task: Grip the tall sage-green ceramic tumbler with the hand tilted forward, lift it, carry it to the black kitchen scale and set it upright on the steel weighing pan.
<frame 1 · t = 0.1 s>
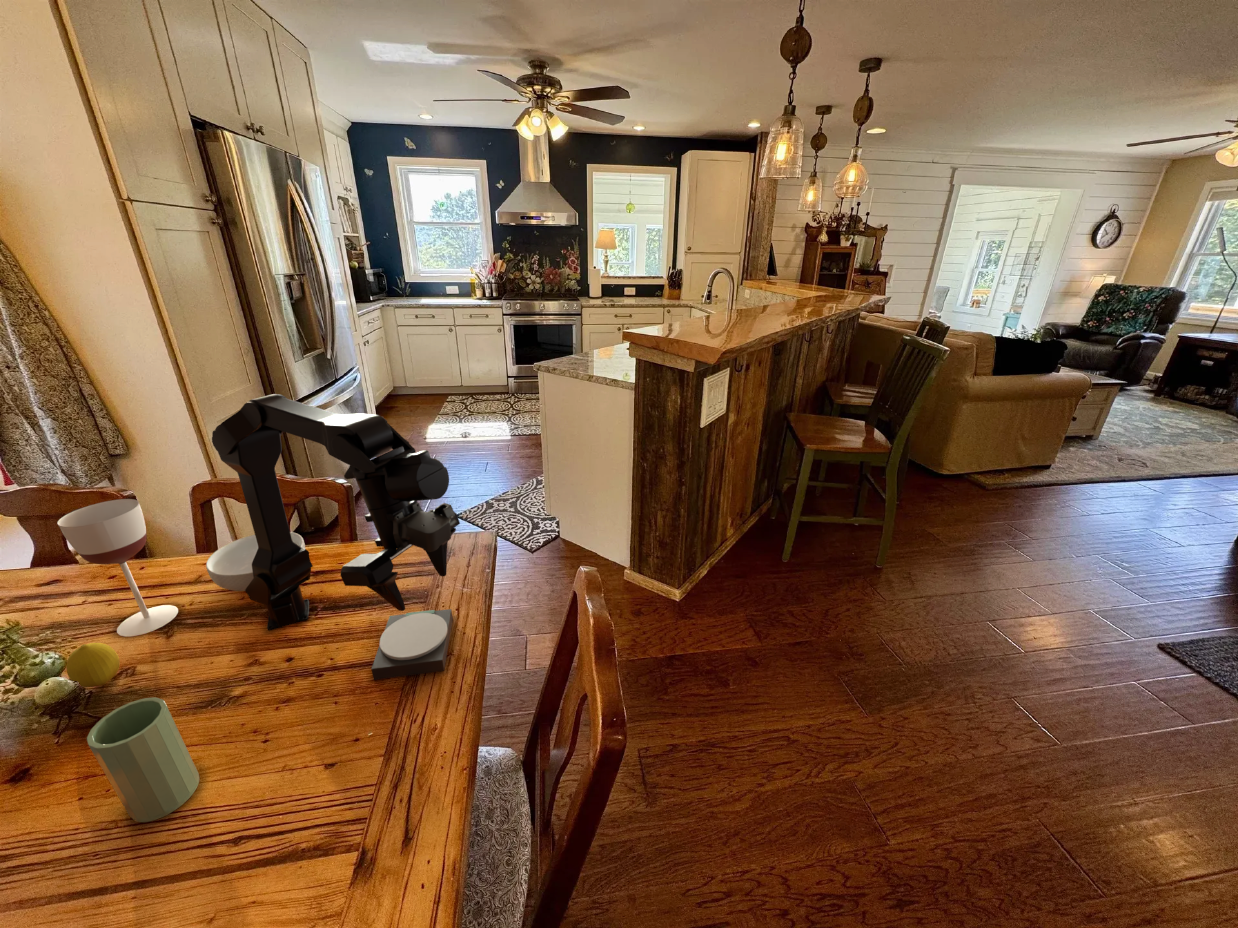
hand: (423, 592, 77), 15 cm above the table, tool pointing down, fingers open, 9 cm apart
wineglass: (148, 620, 92), on the table
lemon: (104, 684, 79), on the table
scale: (416, 647, 87), on the table
cereal bowl: (265, 579, 105), on the table
tumbler: (165, 794, 63), on the table
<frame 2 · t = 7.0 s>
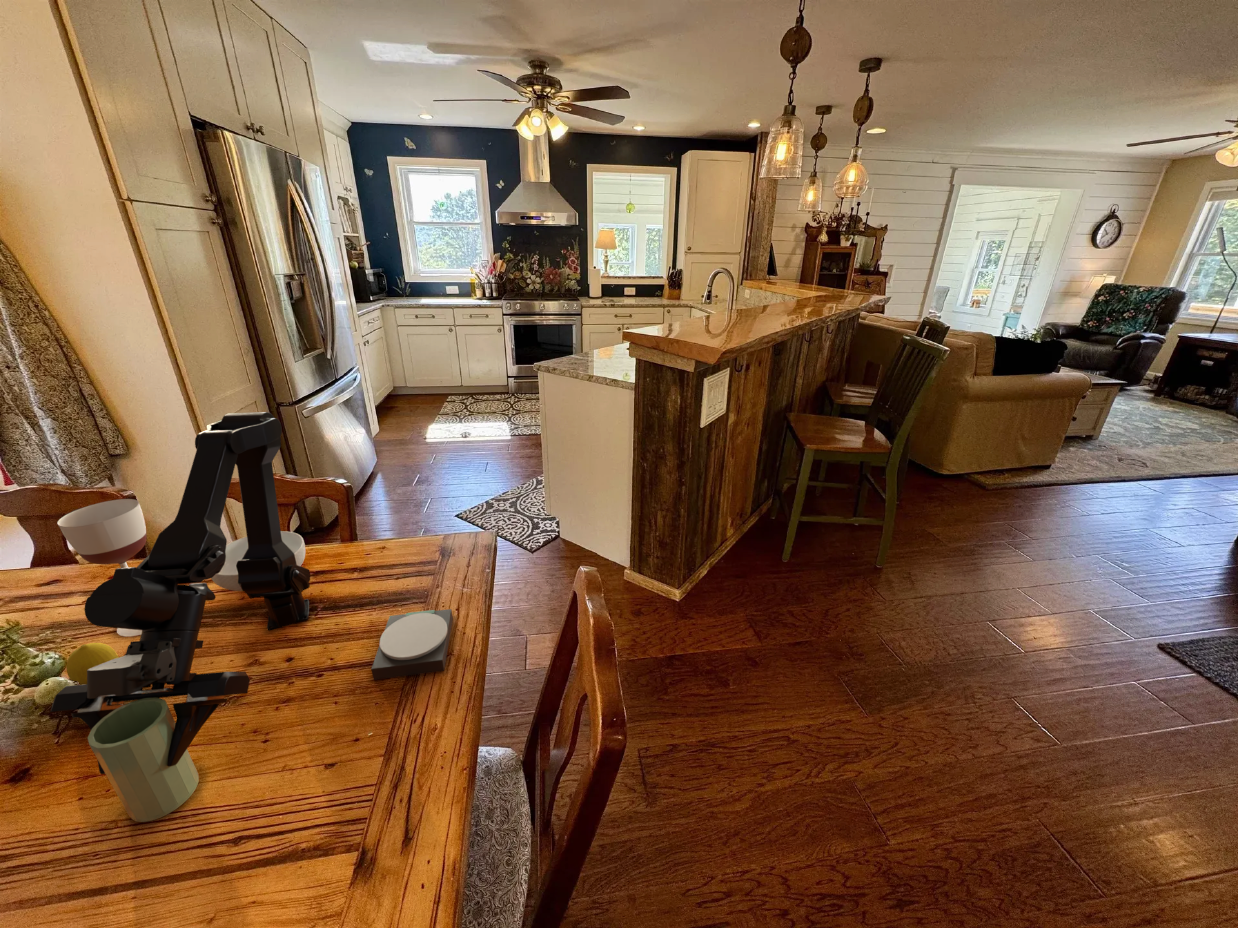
hand: (138, 769, 59), 7 cm above the table, tool tilted 45°, fingers closed on tumbler, 7 cm apart
tumbler: (165, 793, 63), on the table, touching gripper
everything else where it was.
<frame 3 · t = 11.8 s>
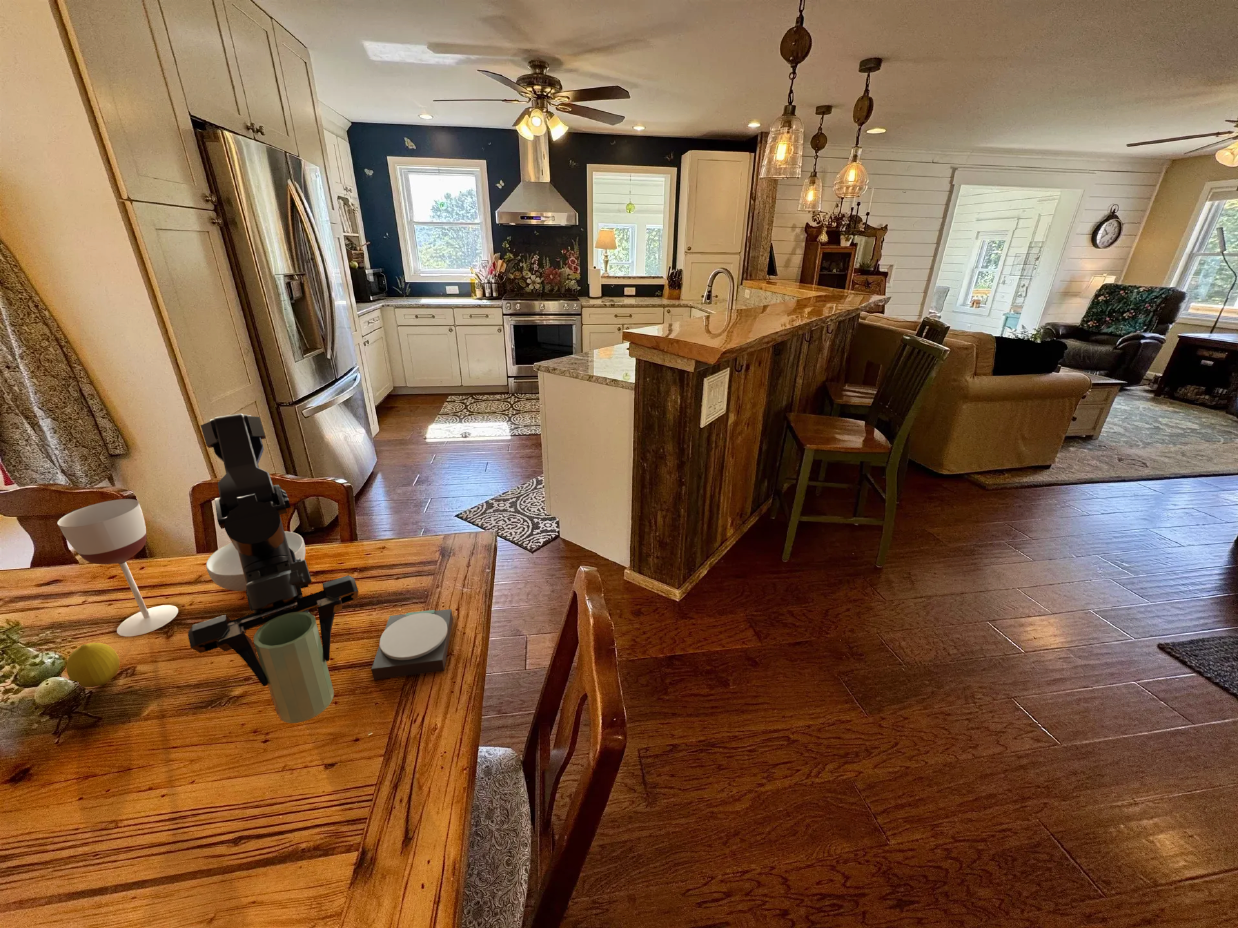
hand: (297, 672, 65), 13 cm above the table, tool tilted 45°, fingers closed on tumbler, 7 cm apart
tumbler: (306, 702, 69), point 6 cm above the table, touching gripper
everything else where it was.
when the fingers open (10 cm above the table, at t = 16.5 s): tumbler stays where it is, resting on scale.
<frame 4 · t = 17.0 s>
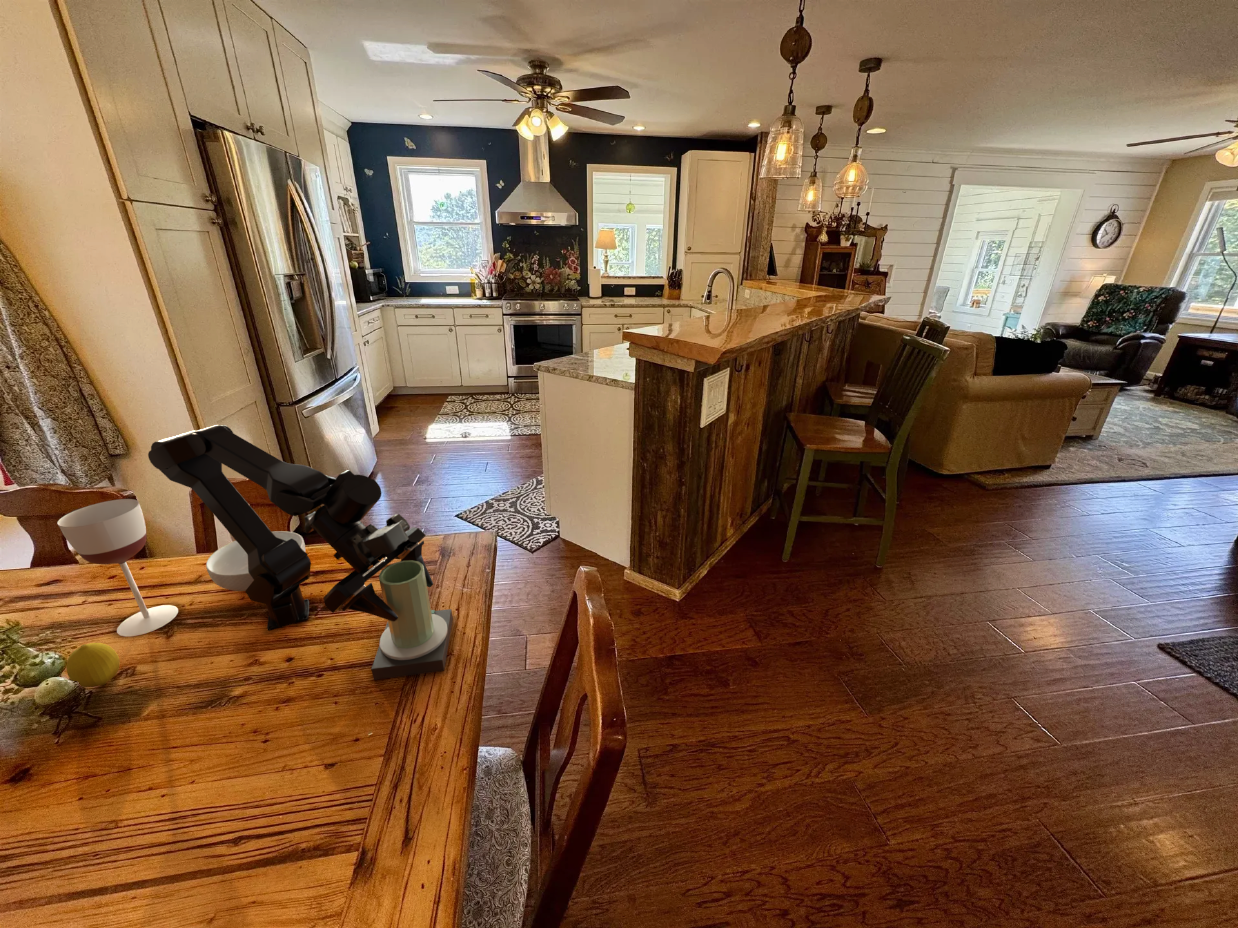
hand: (414, 601, 83), 10 cm above the table, tool tilted 45°, fingers open, 9 cm apart
tumbler: (413, 634, 86), point 3 cm above the table, touching scale
everything else where it was.
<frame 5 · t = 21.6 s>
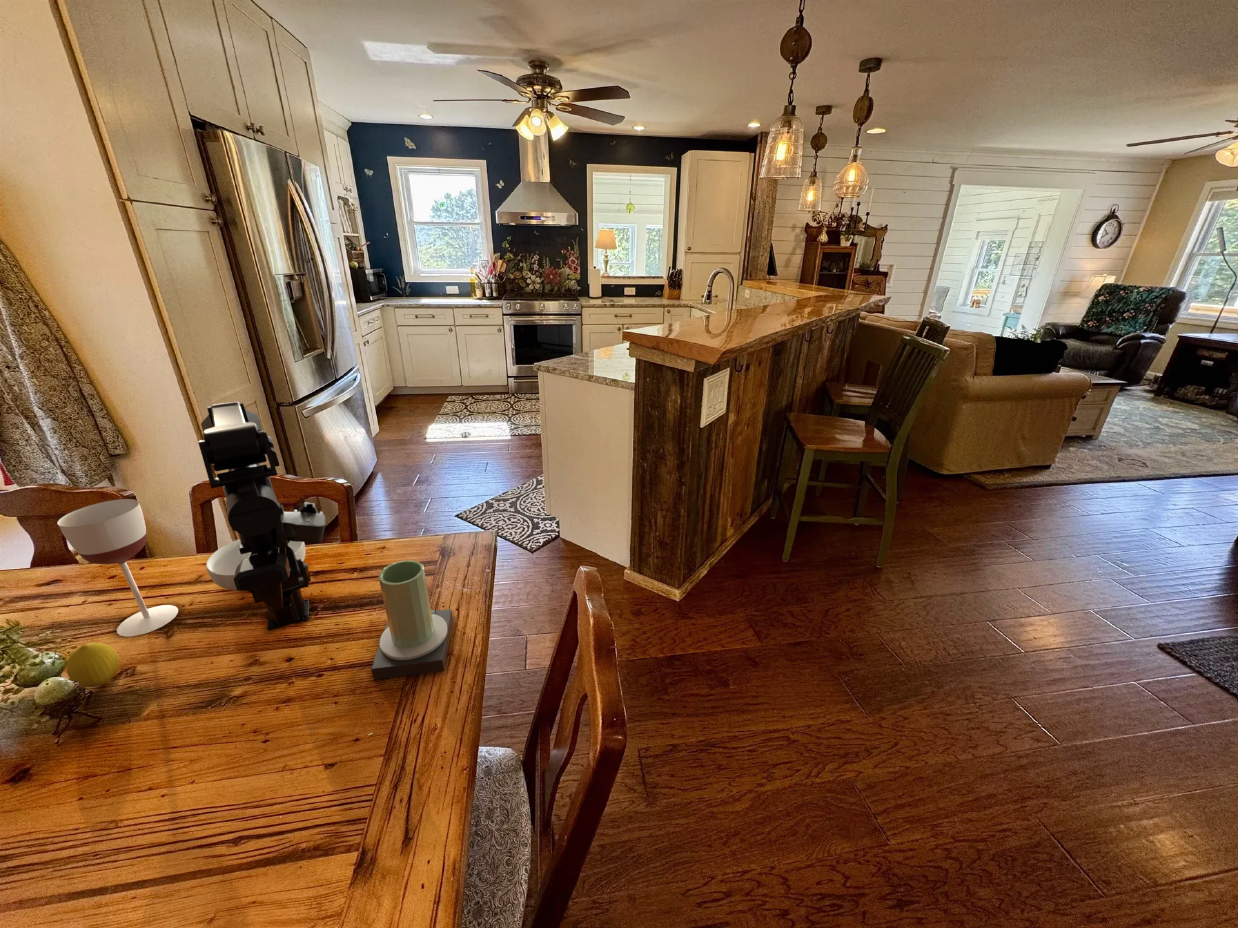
hand: (280, 591, 80), 13 cm above the table, tool pointing down, fingers open, 9 cm apart
nothing on the table moved.
at the end: tumbler inside the target area on the scale (0.1 cm from its centre), point 3.0 cm above the scale's base; tumbler tilted 0°; the gripper is holding nothing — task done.
